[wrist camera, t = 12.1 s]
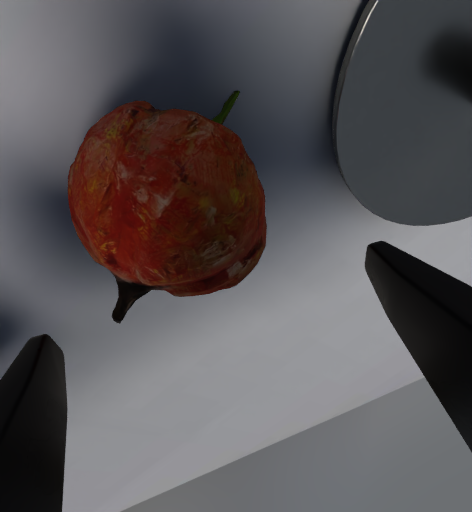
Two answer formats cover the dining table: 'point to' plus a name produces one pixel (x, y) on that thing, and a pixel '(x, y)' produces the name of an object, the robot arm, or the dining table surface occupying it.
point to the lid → (408, 111)
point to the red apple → (167, 202)
